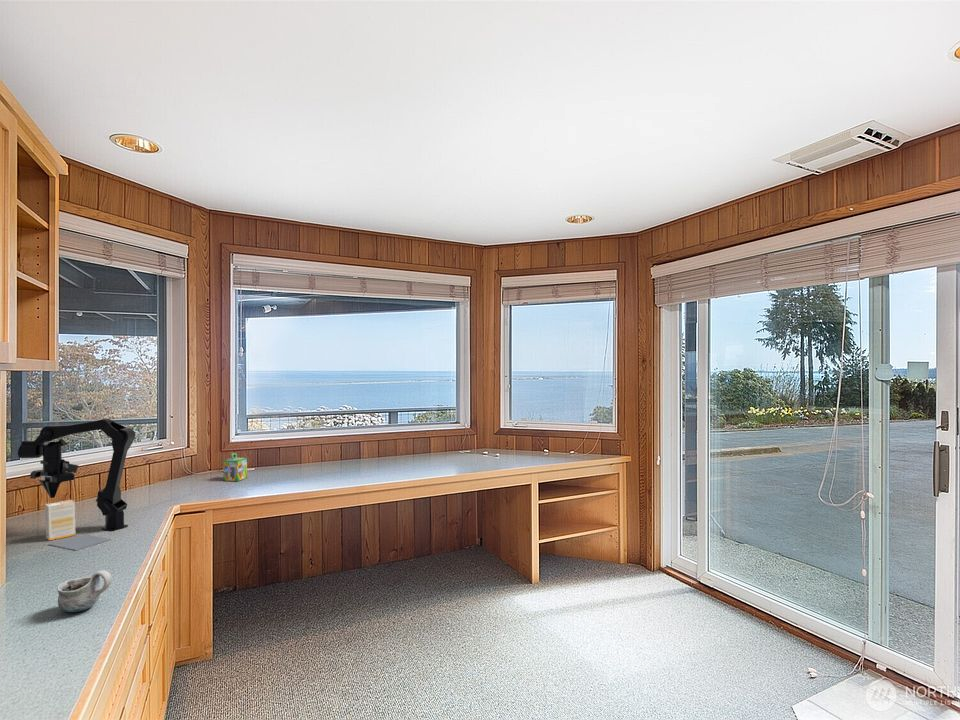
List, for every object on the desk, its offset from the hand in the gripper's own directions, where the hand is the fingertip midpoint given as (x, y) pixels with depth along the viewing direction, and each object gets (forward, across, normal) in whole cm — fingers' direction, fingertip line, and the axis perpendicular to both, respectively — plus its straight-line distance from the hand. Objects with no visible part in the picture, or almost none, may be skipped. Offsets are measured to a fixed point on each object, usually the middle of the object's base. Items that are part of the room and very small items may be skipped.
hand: (52, 497), depth 210 cm
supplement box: (+13, -10, +3) cm, 17 cm away
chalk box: (+13, +9, -94) cm, 95 cm away
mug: (+13, -82, +34) cm, 89 cm away
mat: (+13, -23, +3) cm, 27 cm away
